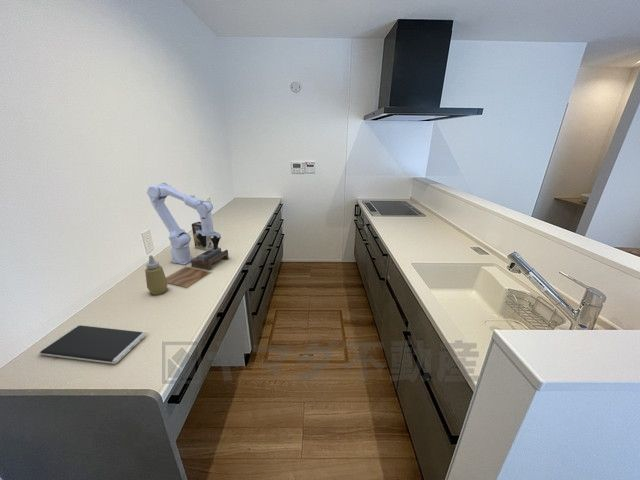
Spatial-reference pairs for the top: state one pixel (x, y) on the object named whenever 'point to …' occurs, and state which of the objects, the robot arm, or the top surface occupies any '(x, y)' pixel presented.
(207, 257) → the remote
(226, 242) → the top surface
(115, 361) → the black flat slab
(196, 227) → the coffee box
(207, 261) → the shelf
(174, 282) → the mat
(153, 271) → the squeeze bottle
